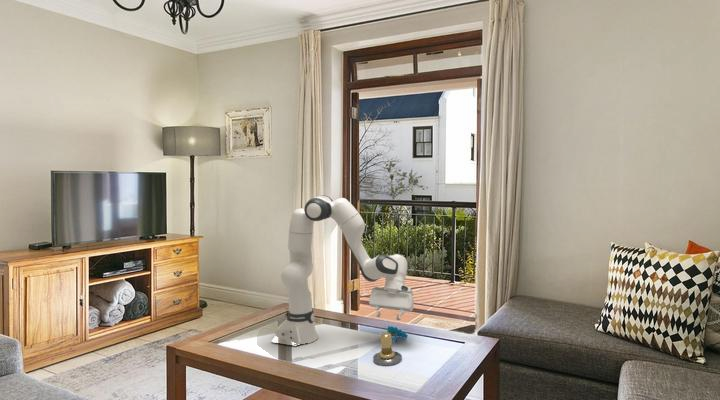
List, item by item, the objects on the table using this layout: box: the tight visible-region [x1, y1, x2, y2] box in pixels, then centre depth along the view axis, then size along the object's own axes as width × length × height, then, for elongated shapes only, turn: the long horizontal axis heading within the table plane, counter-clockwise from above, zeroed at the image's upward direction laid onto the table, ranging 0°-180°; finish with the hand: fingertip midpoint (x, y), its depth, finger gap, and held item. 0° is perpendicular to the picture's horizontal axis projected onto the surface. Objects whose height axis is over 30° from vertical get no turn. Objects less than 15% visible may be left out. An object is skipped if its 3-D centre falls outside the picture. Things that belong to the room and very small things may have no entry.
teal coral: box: [386, 325, 409, 343], centre depth 207 cm, size 11×6×10 cm
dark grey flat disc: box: [372, 350, 403, 367], centre depth 188 cm, size 12×12×1 cm
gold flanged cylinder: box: [378, 332, 396, 360], centre depth 188 cm, size 6×6×10 cm
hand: (388, 318), depth 199 cm, fingers open, 8 cm apart
